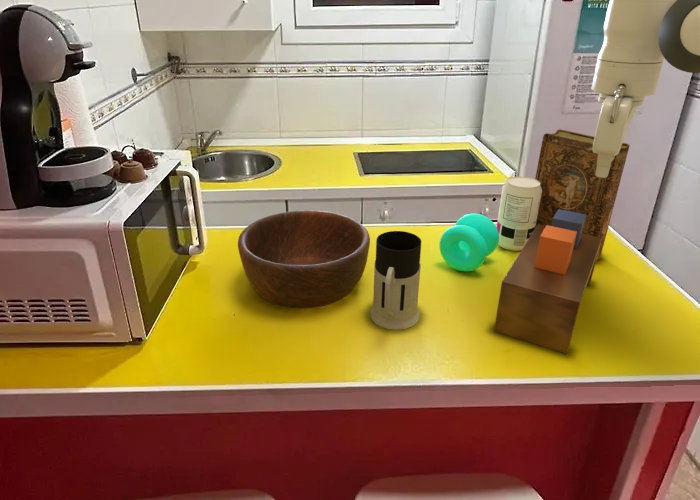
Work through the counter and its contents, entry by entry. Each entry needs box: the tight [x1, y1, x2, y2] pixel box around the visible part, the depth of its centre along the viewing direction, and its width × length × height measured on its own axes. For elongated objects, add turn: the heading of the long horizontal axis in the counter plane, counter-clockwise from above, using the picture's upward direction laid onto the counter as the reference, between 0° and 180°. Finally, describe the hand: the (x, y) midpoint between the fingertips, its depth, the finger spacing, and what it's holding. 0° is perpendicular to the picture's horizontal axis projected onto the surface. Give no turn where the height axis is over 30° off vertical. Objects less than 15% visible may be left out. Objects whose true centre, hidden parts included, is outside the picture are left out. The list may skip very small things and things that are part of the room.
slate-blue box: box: [552, 209, 586, 249], centre depth 97 cm, size 5×5×5 cm
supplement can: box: [496, 175, 542, 252], centre depth 115 cm, size 8×8×15 cm
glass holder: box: [369, 230, 422, 331], centre depth 87 cm, size 9×14×15 cm, turn 166°
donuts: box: [439, 212, 499, 272], centre depth 108 cm, size 10×10×10 cm
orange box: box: [534, 225, 577, 275], centre depth 88 cm, size 5×5×6 cm
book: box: [534, 128, 630, 263], centre depth 112 cm, size 16×6×25 cm, turn 41°
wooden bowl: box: [237, 209, 371, 309], centre depth 101 cm, size 25×25×10 cm
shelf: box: [493, 224, 602, 355], centre depth 94 cm, size 12×26×10 cm, turn 150°
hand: (604, 167), depth 85 cm, fingers open, 8 cm apart
